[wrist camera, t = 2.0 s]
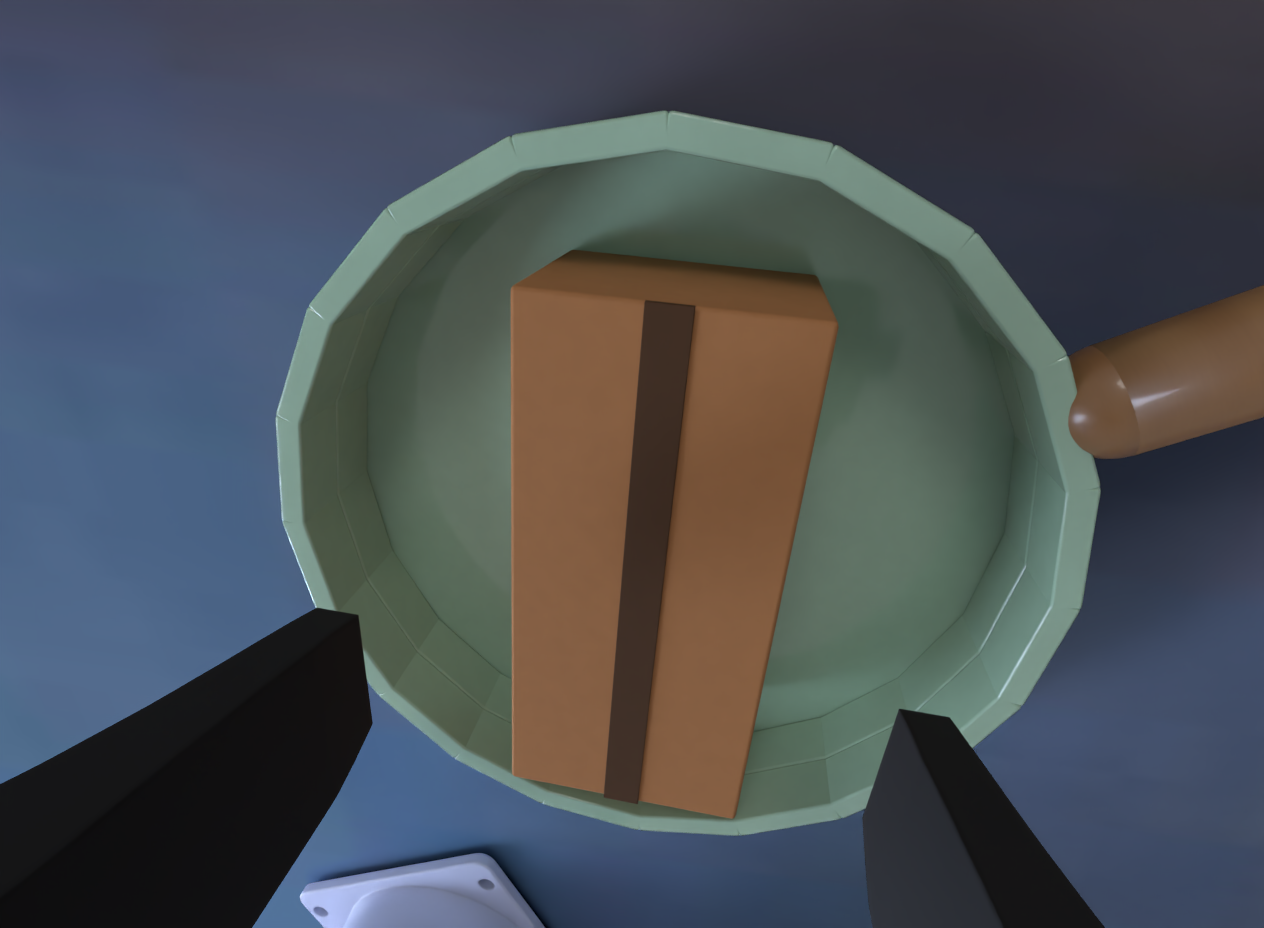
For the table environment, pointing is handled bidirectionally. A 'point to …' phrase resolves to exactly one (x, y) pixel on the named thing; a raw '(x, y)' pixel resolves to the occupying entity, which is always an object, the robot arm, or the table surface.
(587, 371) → the taped cardboard box
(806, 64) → the table surface
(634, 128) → the pan
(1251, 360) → the pan handle
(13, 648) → the table surface
